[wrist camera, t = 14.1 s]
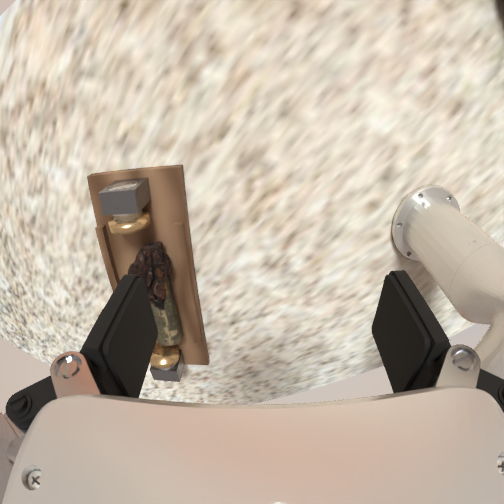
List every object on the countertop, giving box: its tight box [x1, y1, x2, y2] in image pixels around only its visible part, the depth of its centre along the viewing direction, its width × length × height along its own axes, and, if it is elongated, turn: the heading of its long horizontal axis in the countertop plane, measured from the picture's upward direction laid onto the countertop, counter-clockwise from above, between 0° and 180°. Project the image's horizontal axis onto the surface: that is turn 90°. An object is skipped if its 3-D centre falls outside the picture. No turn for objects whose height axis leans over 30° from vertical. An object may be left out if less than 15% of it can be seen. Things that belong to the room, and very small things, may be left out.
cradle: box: [87, 165, 209, 365], centre depth 47 cm, size 14×37×3 cm, turn 1°
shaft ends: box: [99, 177, 184, 382], centre depth 44 cm, size 6×35×6 cm, turn 1°
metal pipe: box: [128, 241, 184, 346], centre depth 44 cm, size 18×7×6 cm, turn 0°
